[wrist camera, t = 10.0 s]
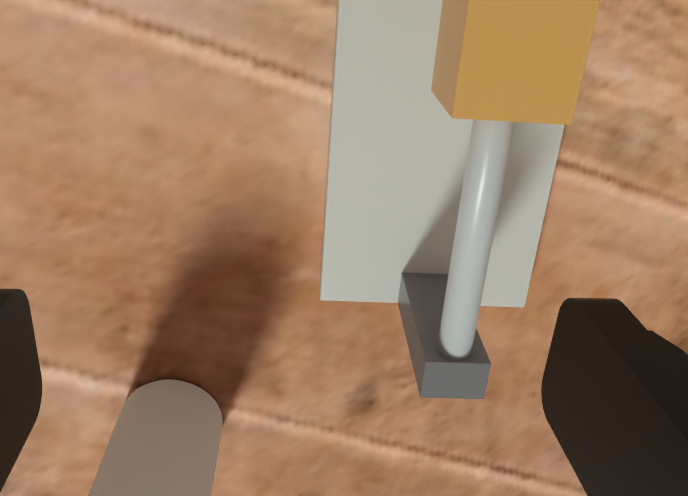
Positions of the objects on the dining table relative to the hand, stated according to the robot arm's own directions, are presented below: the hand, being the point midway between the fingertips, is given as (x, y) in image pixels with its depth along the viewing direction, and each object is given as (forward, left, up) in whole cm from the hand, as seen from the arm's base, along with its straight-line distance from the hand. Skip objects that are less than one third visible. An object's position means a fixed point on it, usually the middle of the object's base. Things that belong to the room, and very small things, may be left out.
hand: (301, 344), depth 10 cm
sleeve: (+7, +3, -19) cm, 20 cm away
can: (-8, -23, -26) cm, 36 cm away
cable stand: (+7, 0, -26) cm, 27 cm away
